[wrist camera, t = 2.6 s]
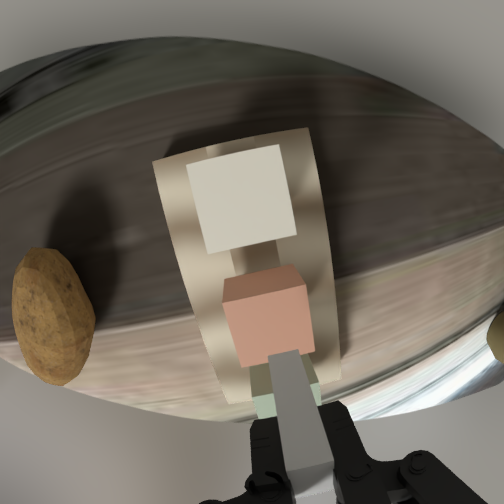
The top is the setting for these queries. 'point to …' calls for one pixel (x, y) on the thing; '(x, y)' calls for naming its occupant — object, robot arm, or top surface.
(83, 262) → the top surface
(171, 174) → the board
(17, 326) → the potato
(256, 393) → the block sage
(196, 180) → the block cream
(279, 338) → the block terracotta
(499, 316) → the squeeze bottle
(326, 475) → the robot arm
